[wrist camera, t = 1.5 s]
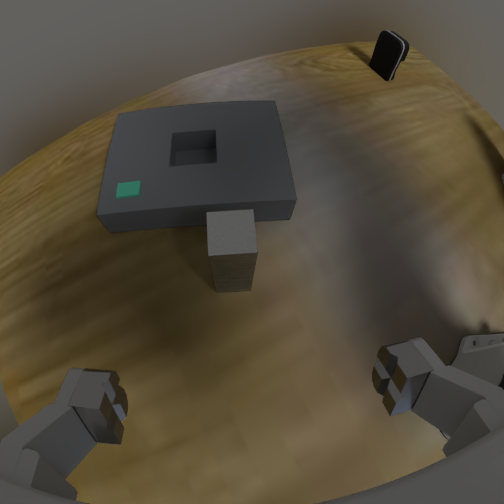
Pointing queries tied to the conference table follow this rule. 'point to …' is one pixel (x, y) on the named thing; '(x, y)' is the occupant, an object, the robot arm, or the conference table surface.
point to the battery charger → (388, 54)
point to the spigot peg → (232, 249)
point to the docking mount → (195, 166)
